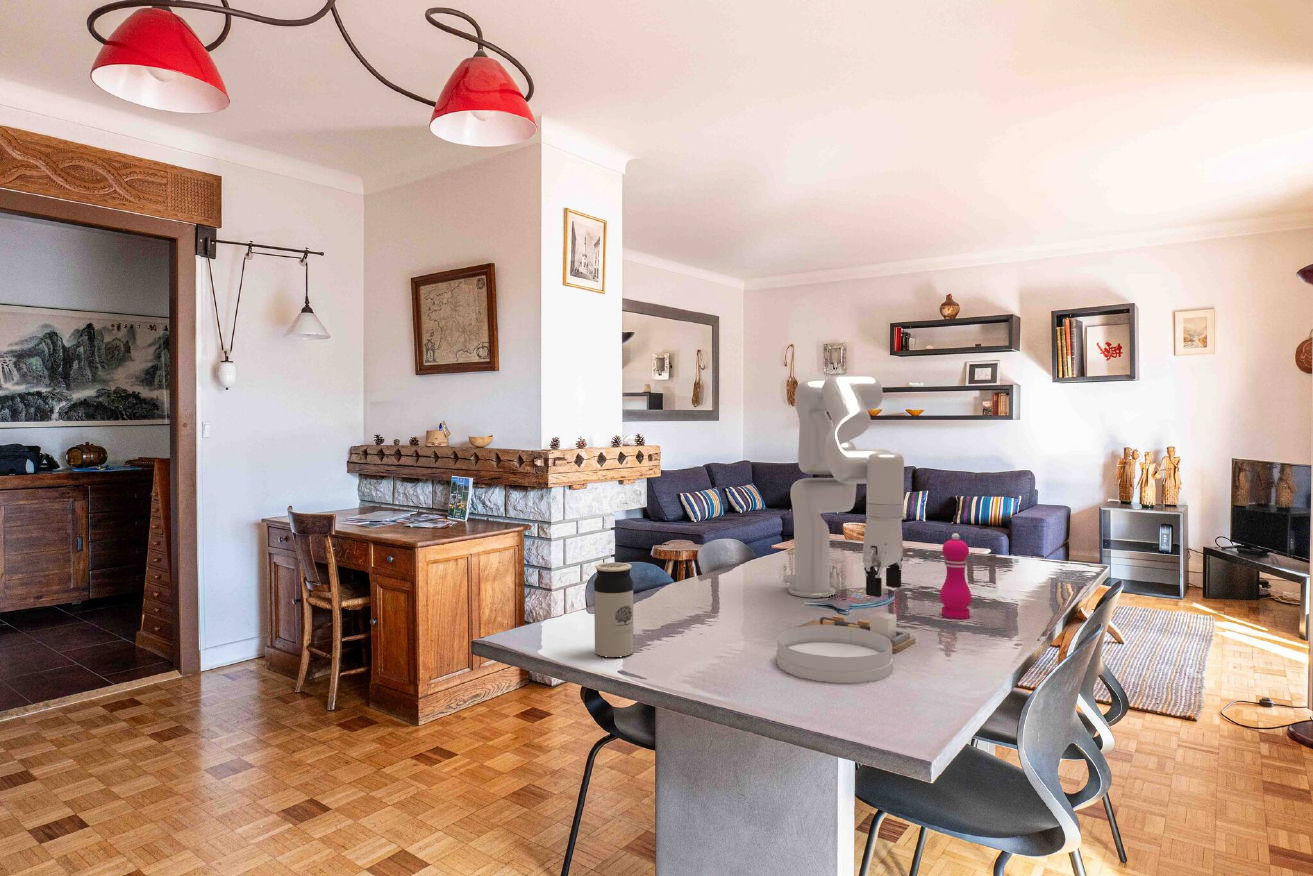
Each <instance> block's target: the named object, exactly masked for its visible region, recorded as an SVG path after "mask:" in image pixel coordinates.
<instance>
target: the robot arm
mask: <svg viewBox="0 0 1313 876" xmlns="http://www.w3.org/2000/svg"><path fill="white" fill-rule="evenodd" d="M795 388H796V389H795V390H794V391H795V392H794V406H795V409H796V413H797V417H798V421H799V432H798V433H799V434H798V451H797V453H798V454H797V460H798V462H797V463H798V468H799V470H800V471H801V472H802V473H804V474H808V475H832V476H833V477H807V478H806V477H805V478H801V479H798V480H796V481H794V483H792V485H791V487H790V500H791V506H792V508H791V509H792V514H793V538H794V539H793V544H794V545H793V547H794V548H793V549H794V550H793V551H794V552H793V555H794V557H793V558H794V559H793V560H794V564H793V565H794V570H793V571H794V574H792V575H791V574H787V573H786V574H784V575H783V579H782V582H783V583H790V586H789V587H788V593H789V594H790V595H792V596H796V597H800V598H815V599H816V598H817V599H818V598H819V599H820V598H821V597H822V598H828V597H829V596H830V597H832V596H831V595H833V596H835V595H836V588H835V587H832V586H831V584H830V583H831V581H830V580H831V579H830V578H831V576H830V573H831V572H830V571H831V567H830V566H831V565H830V562H831V561H830V559H831V558H830V556H831V555H830V551H831V550H830V549H831V547H830V544H831V542H830V529H829V525H828V523H827V522H826V521H825V520H824V519H823V517H822V516H821V514H827V513H846V512H850V511H851V510H852V509H853V508H854V506H855V502H856V497H857V496H856V495H857V484H860V485H861V484H865V485H866V499H865V500H866V506H865V507H866V508H865V511H866V512H865V513H866V514H865V517H866V518H865V519H866V521H865V526H864V527H865V528H864V534H863V536H864V537H863V548H862V563H863V569H864V574H865V575H864V576H865V594H866V596H870V597H875V598H880V597H882V595H883V594H882V590H883V589H882V587H883V586H882V585H883V583H882V581H883V580H882V579H883V578H882V577H881V574H882V571H883V569H884V568H885V586H887V587H888V588H889V587H890V588H896V589H901V587H902V568H903V564H902V562H903V560H904V557H903V554H904V549H905V548H904V546H903V527H902V526H903V525H902V520H904V503H905V502H904V496H905V495H904V491H905V490H904V489H905V486H904V485H905V477H904V476H905V460H904V457H903V455H901V454H899V453H896V452H892V451H890V450H888V449H878V448H877V449H869V448H868V449H865V448H863V449H862V448H861V449H860V448H859V449H857V447H856V445H855V443H854V442H852V440H854V439H856V438H858V437H860V436H861V435H863V434H864V433H865V432H866V431H867V430H868V429H869V428H870V425H871V423H872V422H871V418H872V417H871V416H870V412H869V411H872V410H875V409H877V408H878V407H880V405H881V404H882V402H883V396H884V392H883V391H884V390H883V386H882V384H881V382H880V380H878V379H877V377H875V376H873V375H870V374H869V375H868V374H837V375H833V376H830V377H828V378H818V379H817V378H816V379H815V378H814V379H806V380H803V381H801V382H800V383H798V384H797V386H796V387H795ZM827 412H828V413H827ZM834 594H835V595H834ZM830 597H829V598H830ZM822 598H821V599H822Z"/></svg>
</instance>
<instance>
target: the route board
mask: <svg viewBox="0 0 1313 876" xmlns="http://www.w3.org/2000/svg"><path fill="white" fill-rule="evenodd" d="M819 620H820V619H813V620H810V621H808V622H805V623H803V624H801V625H798V626H795V627H794V628H796V627H803V626H814V625H822V624H820V621H819ZM915 644H916V637H912V636H910V639H908V640H906V641H905V642H903V643H901V644H899V645H897V646H892V654H898V653H900V652H901V651H903V650H905V649H906V648H908V647H910V646H912V645H915Z"/></svg>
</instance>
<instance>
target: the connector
mask: <svg viewBox="0 0 1313 876" xmlns="http://www.w3.org/2000/svg"><path fill="white" fill-rule="evenodd" d="M818 620H819V621H820V624H822V625H823V620H830V621H835V626H846V627H848V625H849V624H852V625H858V626H860V629H865V630H869V631H872V632H876V633H878V634H881V635H883V636H885V637H886V638H891V639H893V638H895V637H896V631H897V614H893V613H888V612H884V611H877V612H875V613H873V614H870V621H869V622H870V626H865V625H860V624H858V623H854V622H850V621H846V620H845V621H841V620H836V619H833V617H832V618H831V617H827V616H822V617H820V618H819V619H818Z"/></svg>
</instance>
